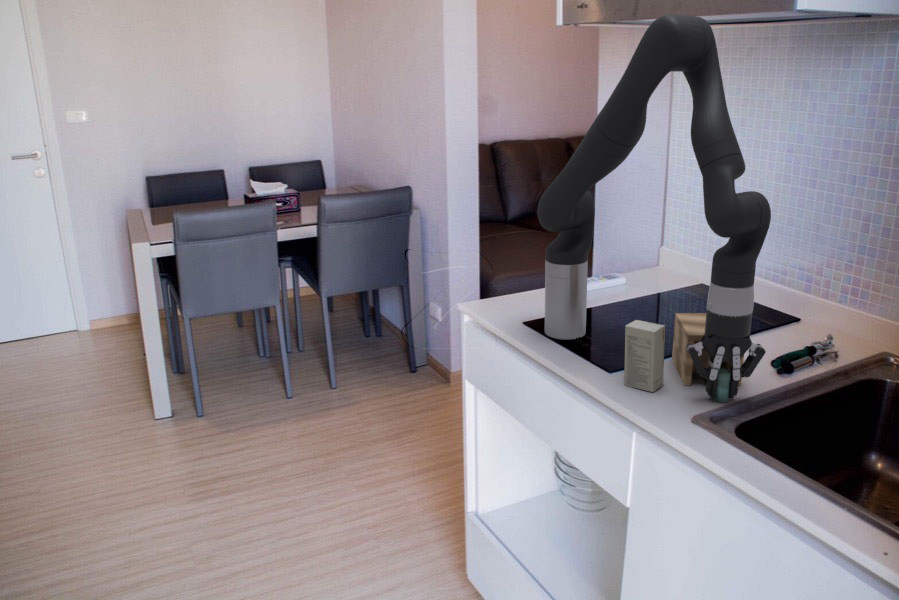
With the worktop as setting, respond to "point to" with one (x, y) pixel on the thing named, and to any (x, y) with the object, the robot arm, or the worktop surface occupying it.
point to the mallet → (721, 378)
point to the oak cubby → (685, 333)
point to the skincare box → (644, 355)
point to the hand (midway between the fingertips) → (720, 396)
